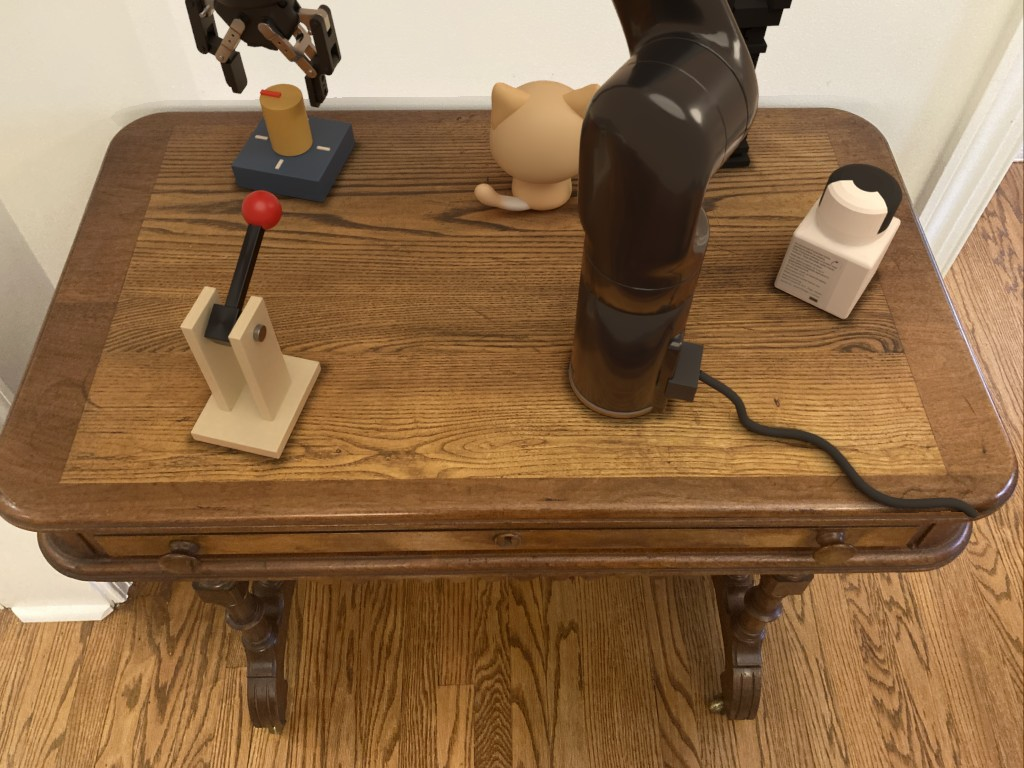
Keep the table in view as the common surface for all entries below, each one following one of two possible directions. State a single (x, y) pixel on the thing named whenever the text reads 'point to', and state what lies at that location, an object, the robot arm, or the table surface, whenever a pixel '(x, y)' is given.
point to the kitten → (536, 142)
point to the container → (842, 239)
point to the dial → (286, 119)
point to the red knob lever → (244, 263)
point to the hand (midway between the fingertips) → (279, 95)
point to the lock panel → (295, 161)
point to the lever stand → (247, 380)
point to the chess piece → (753, 46)
